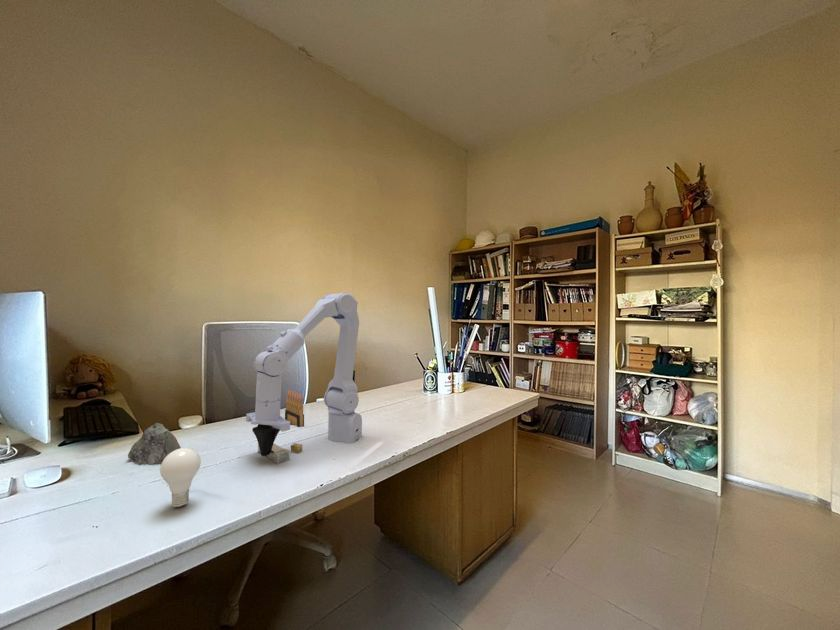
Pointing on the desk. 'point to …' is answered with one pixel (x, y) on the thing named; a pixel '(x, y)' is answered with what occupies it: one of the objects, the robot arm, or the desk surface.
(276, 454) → the swing bar
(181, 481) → the lightbulb
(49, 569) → the desk surface
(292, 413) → the ammunition clip
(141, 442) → the mineral rock
